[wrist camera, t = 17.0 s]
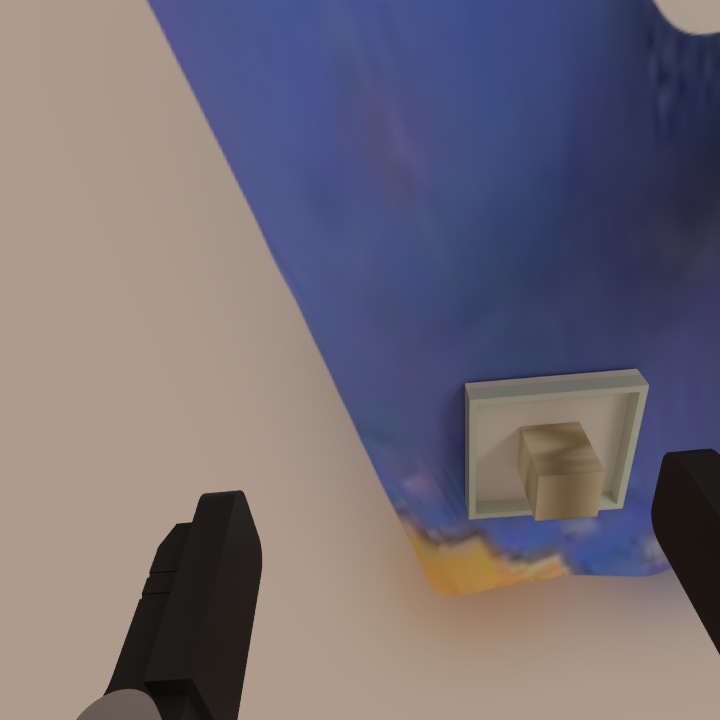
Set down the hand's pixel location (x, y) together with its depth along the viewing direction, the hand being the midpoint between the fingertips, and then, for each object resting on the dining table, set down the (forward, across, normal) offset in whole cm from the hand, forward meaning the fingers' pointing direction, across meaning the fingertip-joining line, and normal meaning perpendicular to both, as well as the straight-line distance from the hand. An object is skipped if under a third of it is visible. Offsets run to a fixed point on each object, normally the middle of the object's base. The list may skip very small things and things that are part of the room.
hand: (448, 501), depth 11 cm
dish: (+30, -12, +27) cm, 42 cm away
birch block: (+30, -12, +27) cm, 42 cm away
